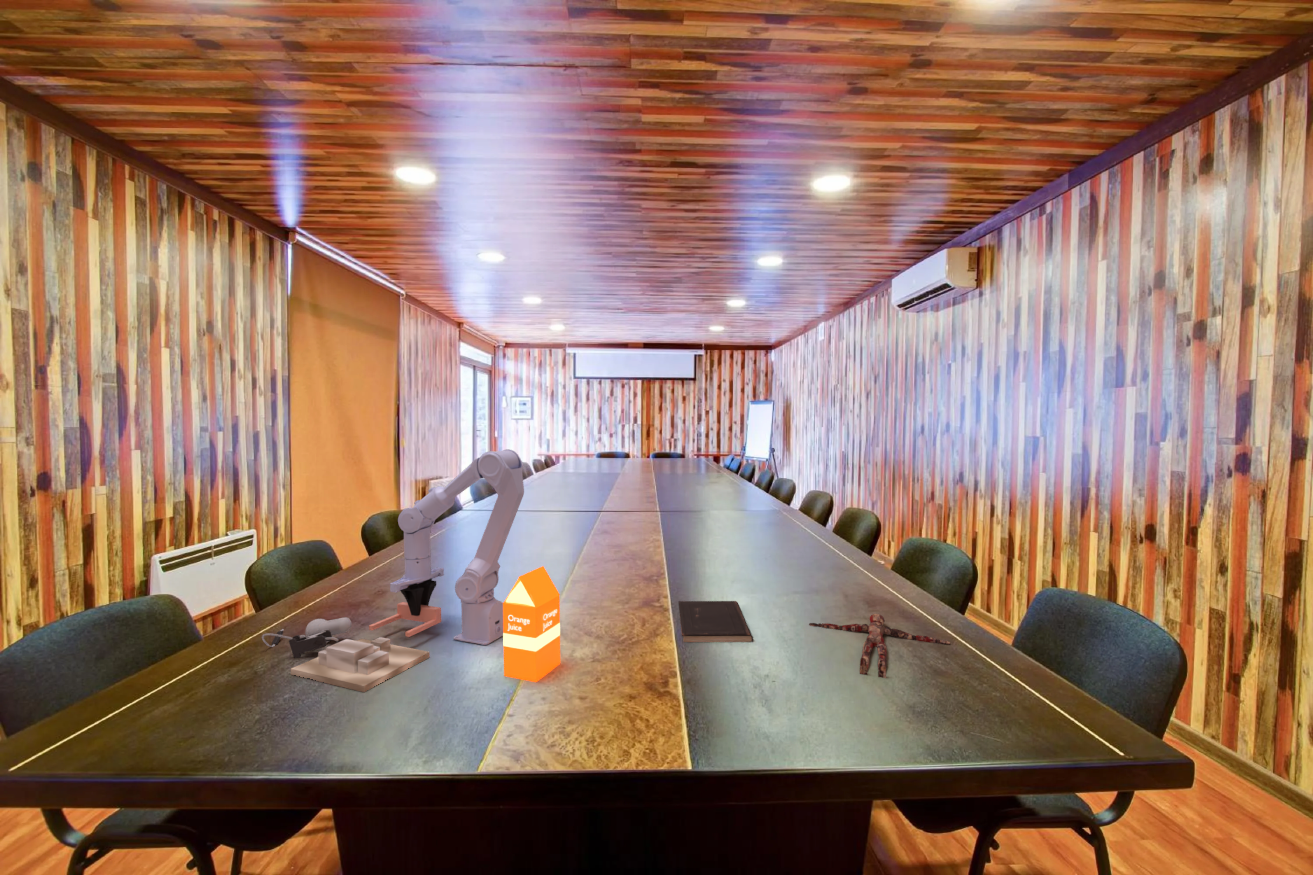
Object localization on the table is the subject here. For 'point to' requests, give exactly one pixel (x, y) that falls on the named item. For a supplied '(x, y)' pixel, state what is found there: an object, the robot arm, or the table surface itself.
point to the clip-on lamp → (314, 635)
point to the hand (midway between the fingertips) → (419, 613)
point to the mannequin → (877, 640)
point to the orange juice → (531, 627)
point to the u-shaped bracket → (413, 618)
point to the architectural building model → (360, 663)
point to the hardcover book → (713, 622)
